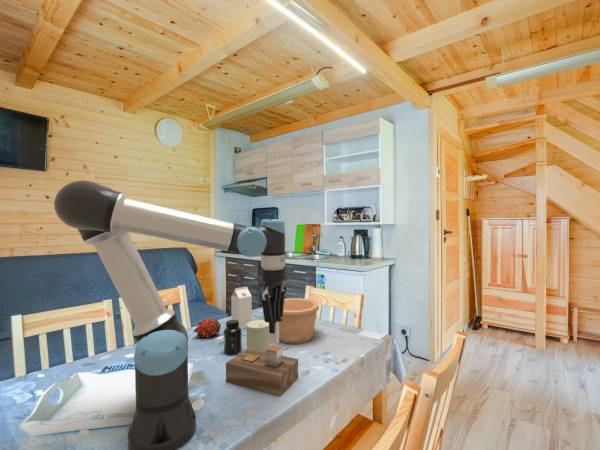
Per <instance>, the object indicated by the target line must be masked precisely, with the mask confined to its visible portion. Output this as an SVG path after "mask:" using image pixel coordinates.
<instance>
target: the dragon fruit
mask: <svg viewBox="0 0 600 450" xmlns="http://www.w3.org/2000/svg"><path fill="white" fill-rule="evenodd" d="M221 326H222V324H221V323H220V321H218V320H217V319H213V318H211V317H210V318H209V319H206V318H205V319H202V321H200V322H199V323H198V325H197V326H196V327H195V328H194V330H193V333H196V336H197V337H199V338H206V337H207V339H210V338H211V337H214V336H215V334H218V333H220V330H221Z"/></svg>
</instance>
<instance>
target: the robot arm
mask: <svg viewBox="0 0 600 450" xmlns="http://www.w3.org/2000/svg"><path fill="white" fill-rule="evenodd" d="M53 200H54V201H53V202H54V203H53V206H54V207H53V208H54V211H55V213H56V216H57V217H58V219H59V220H60V221H61V222H63V223H64V224H65V225H66V226H69V227H70V228H73V229H76V230H77V232H79V235H80V236H81V239H82V240H83V243H84V244H88V245H92V246H93V247H94V248H95V250H96V253H97V254H98V256H99V258H100V260H101V262H102V264H103V266H104V267H105V269H106V272H107V274H108V275H109V277H110V280H111V281H112V283H113V285H114V287H115V289H116V290H117V292H118V295H119V296H120V298H121V301H122V303H123V304H124V306H125V308H126V311H127V312H128V314H129V316H130V319H131V320H132V322H133V324H134V327H133V328H134V329H133V331H132V336H133V338H134V340H135V342H136V343H137V344H136V346H135V348H134V355H133V361H134V371H135V372H134V375H135V376H134V377H135V378H134V380H135V382H134V386H135V387H134V388H135V411H134V413H133V417H132V421H131V425H130V427H129V430H128V433H127V447H128V450H178V449H180V448H182V447H183V446H184V445H185V444H187V443H188V442H189V441H190V440H191V439H192V438H193V436H194V435H195V433H196V430H197V417H196V412H195V411H194V408H193V405H192V403H191V401H190V397H189V364H188V361H189V358H188V357H189V356H188V353H189V333H188V331H187V328H186V327H185V326H184V324H183V323H182V322H181V321H180V320H179V318H178V316H177V315H176V312H175V311H174V310H172V309H168V308H167V307H166V305H165V303H164V302H163V301H164V300H163V299H162V297H161V295H160V293H159V291H158V289H157V287H156V285H155V283H154V282H153V278H152V277H151V275H150V273H149V270H148V268H147V267H146V265H145V263H144V261H143V259H142V257H141V255H140V253H139V251H138V249H137V246H136V245H135V243H134V241H133V238H132V237H131V234H130V233H133V234H134V233H135V234H139V235H144V236H149V237H155V238H159V239H165V240H169V241H175V242H179V243H184V244H185V243H186V244H190V245H195V246H200V247H205V248H210V249H216V250H221V251H224V252H229V253H233V254H239V255H243V257H244V256H245V257H249V258H251V257H252V258H254V257H258V256H260V257H261V259H260V263H261V264H260V265H261V266H260V267H261V268H262V269H261V281H263V282H264V288H263V290H264V291H263V293H260V294H259V299H260V302H261V306H262V313H263V320H265V322H268V323H269V342H270V344H279V343H280V341H279V321H282V319H281V318H280V317H282V316H283V308H284V299H286V298H285V297H286V292H287V286H284V285H283V282H284V281H285V280H286V269H285V267H286V260H287V259H286V227H285V222H284V220H282V219H261V221H260V225H255V226H254V225H249V226H248V225H244V224H239V223H234V222H230V221H228V220H222V219H217V218H215V217H214V218H213V217H210V216H206V215H202V214H201V215H200V214H196V213H193V212H187V211H184V210H178V209H175V208H172V207H171V208H170V207H166V206H164V205H163V206H162V205H159V204H154V203H149V202H146V201H145V202H144V201H140V200H138V199H137V200H136V199H132V198H128V196H127V194H125V192H121V191H117V190H114V189H112V188H111V187H109V186H107V185H106V186H105V185H102V184H99V183H97V182H94V181H90V180H76V181H72V182H69V183H67V184H65V185H64V186H62V188H61V189H58V191H57V193H56V194H55V198H54V199H53Z"/></svg>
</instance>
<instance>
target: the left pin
mask: <svg viewBox="0 0 600 450" xmlns="http://www.w3.org/2000/svg"><path fill="white" fill-rule="evenodd" d="M257 359H259V356H255V355H251V354H249V355H247V356H246V357H244V358H243V359H242V361H247V362H251V363H253V362H255V361H256V360H257Z"/></svg>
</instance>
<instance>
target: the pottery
mask: <svg viewBox="0 0 600 450" xmlns="http://www.w3.org/2000/svg"><path fill="white" fill-rule="evenodd" d="M319 309H320V305H319V303H318V302H317V301H316V300H312V299H309V298H301V297H300V298H299V297H297V298H296V297H294V298H292V297H291V298H289V297H288V298H284V308H283V316H282V317H280V318H281V319H282V321H279V343H283V344H287V345H298V344H299V345H301V344H304V343H308V342H309V341H311V340H312V339H313V338H314V332H315V325H316V317H317V312H318V311H319Z"/></svg>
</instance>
